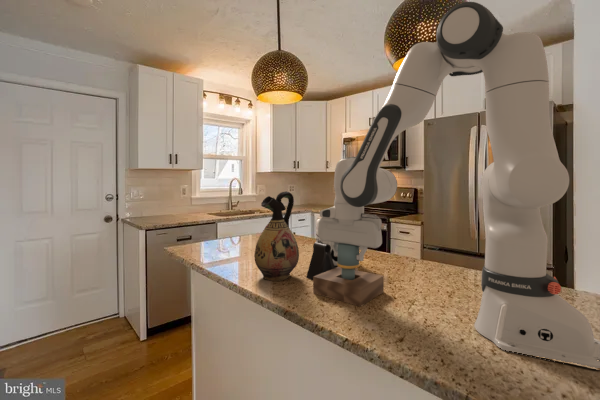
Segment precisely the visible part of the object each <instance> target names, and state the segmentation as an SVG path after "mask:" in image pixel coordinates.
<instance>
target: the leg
mask: <svg viewBox="0 0 600 400" xmlns="http://www.w3.org/2000/svg"><path fill="white" fill-rule="evenodd" d="M357 254H360V246H357V245H350V244H344V243H338V262H337V266H338V267H340V268H342V271H341V278H343V279H348V280H354V279H355V270H356V269H358V268H360V261H357V260H356V255H357Z"/></svg>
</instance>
